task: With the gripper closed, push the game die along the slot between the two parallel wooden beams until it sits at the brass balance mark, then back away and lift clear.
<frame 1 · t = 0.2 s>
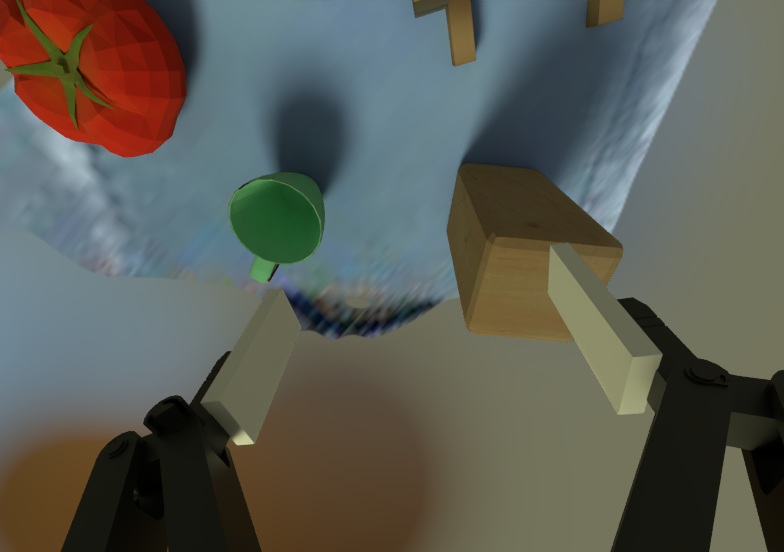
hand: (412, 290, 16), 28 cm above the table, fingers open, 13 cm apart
wooden block: (489, 202, 42), on the table
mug: (296, 207, 44), on the table
tomato: (136, 68, 36), on the table
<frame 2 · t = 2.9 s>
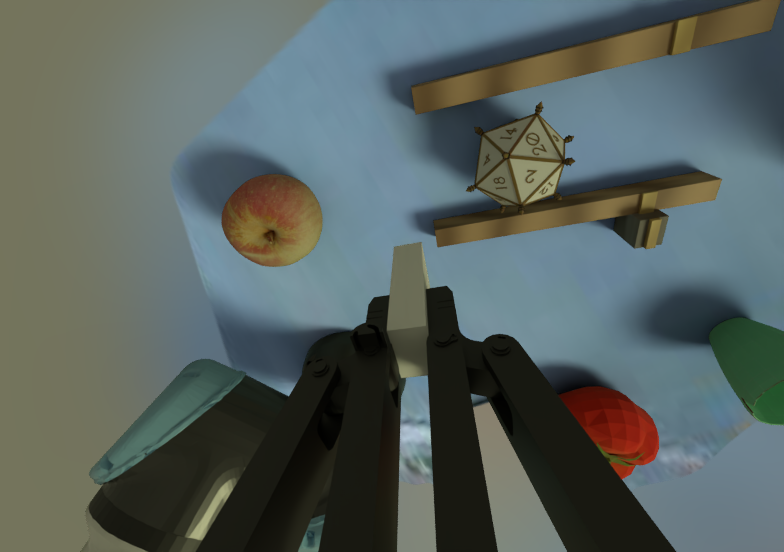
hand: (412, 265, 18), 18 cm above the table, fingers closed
apple: (290, 204, 36), on the table
game die: (506, 152, 32), on the table
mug: (740, 337, 43), on the table
parallel wooden beams: (562, 141, 31), on the table
tomato: (579, 402, 52), on the table
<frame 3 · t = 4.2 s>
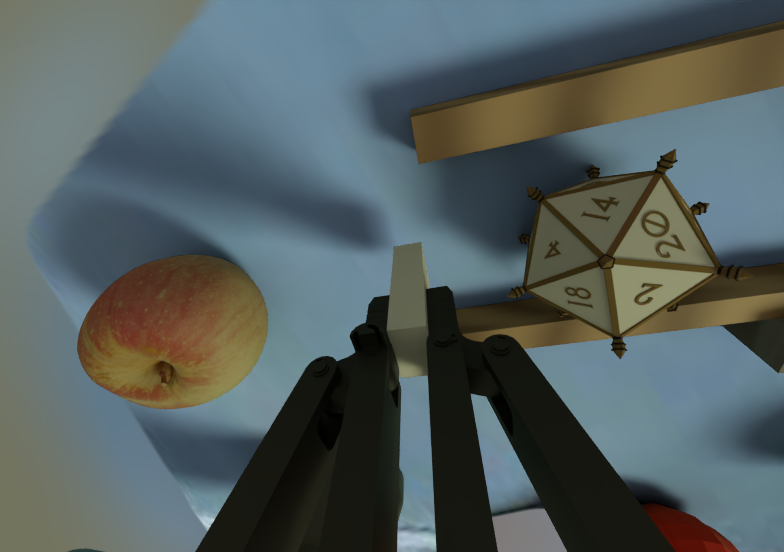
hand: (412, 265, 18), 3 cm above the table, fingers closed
apple: (222, 286, 23), on the table
game die: (569, 216, 19), on the table
parallel wooden beams: (666, 201, 18), on the table
tomato: (633, 513, 39), on the table
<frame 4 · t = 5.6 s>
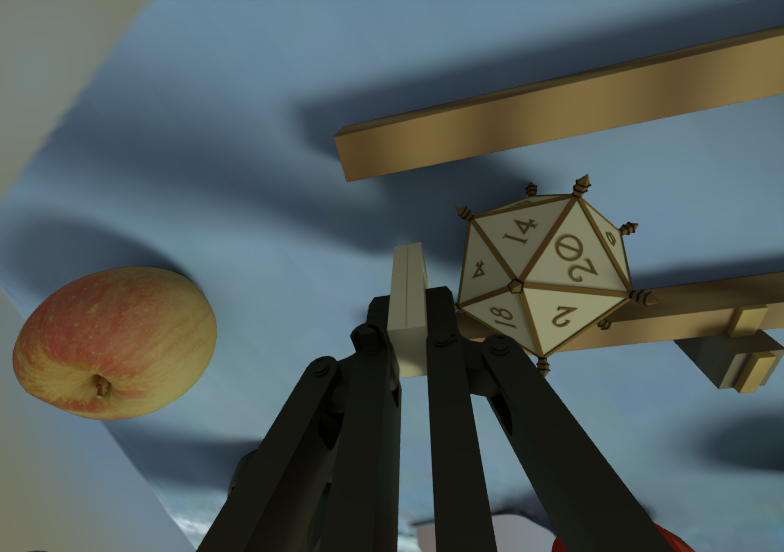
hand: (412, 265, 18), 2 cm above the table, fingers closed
apple: (176, 296, 23), on the table
game die: (513, 232, 19), on the table, touching gripper
parallel wooden beams: (605, 218, 18), on the table
tomato: (602, 520, 40), on the table
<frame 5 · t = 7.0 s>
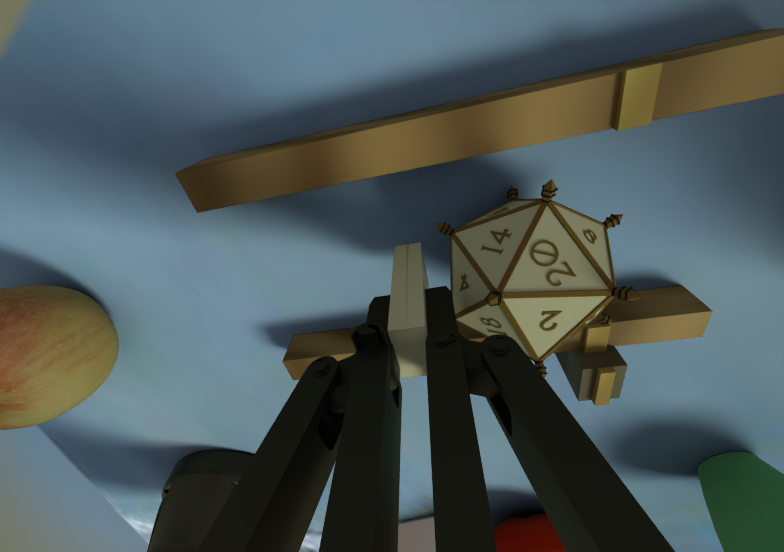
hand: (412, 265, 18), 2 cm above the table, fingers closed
apple: (84, 310, 24), on the table
game die: (504, 235, 19), on the table, touching gripper
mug: (740, 470, 32), on the table
parallel wooden beams: (462, 242, 19), on the table
tomato: (534, 522, 41), on the table
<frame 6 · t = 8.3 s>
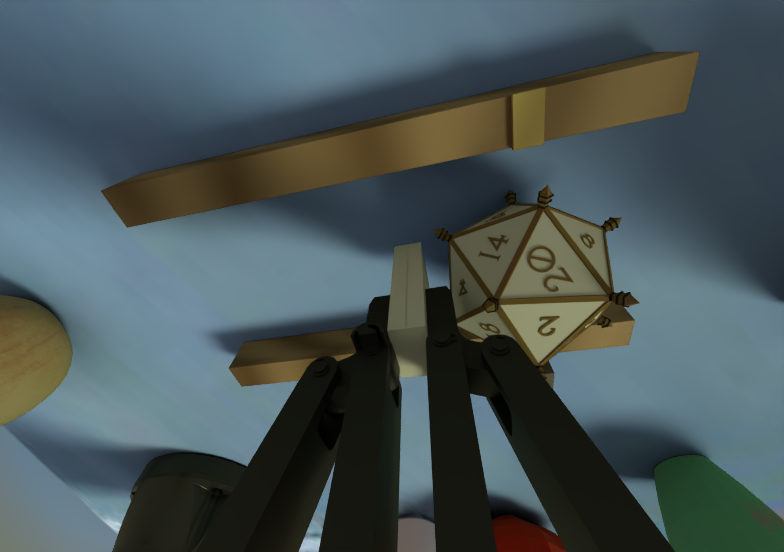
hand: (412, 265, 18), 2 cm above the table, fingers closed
apple: (40, 318, 25), on the table
game die: (503, 238, 19), on the table, touching gripper
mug: (696, 472, 32), on the table
parallel wooden beams: (394, 253, 20), on the table
tomato: (502, 524, 41), on the table
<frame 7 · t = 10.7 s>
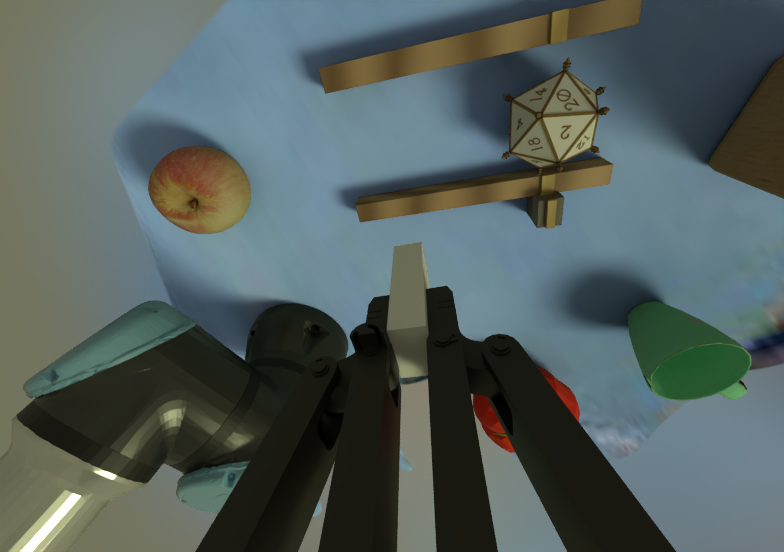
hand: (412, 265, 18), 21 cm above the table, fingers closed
apple: (225, 177, 38), on the table
wooden block: (783, 121, 31), on the table
game die: (537, 116, 32), on the table
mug: (658, 321, 46), on the table
parallel wooden beams: (470, 125, 33), on the table
tomato: (515, 380, 55), on the table
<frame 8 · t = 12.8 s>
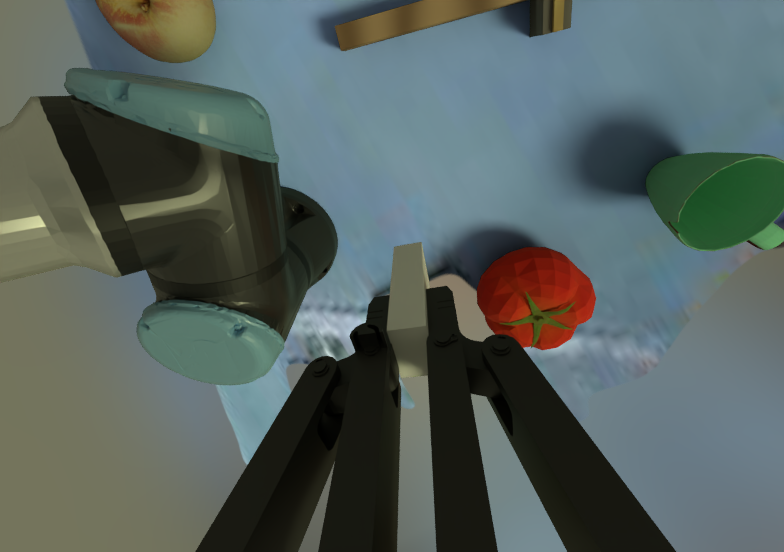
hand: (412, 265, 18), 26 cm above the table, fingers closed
apple: (187, 11, 34), on the table
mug: (679, 185, 41), on the table
tomato: (522, 279, 50), on the table
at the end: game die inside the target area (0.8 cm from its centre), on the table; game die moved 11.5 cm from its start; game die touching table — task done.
